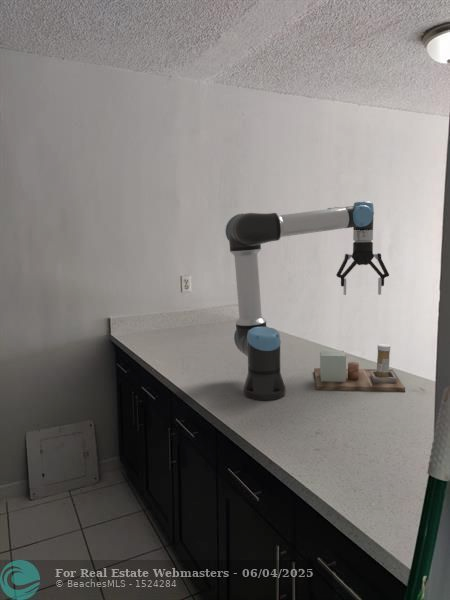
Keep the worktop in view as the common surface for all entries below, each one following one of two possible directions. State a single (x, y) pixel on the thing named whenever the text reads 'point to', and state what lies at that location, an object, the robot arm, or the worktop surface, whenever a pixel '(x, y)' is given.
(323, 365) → the cover
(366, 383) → the board
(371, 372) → the socket
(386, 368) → the sprinkles bottle
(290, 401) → the worktop surface
